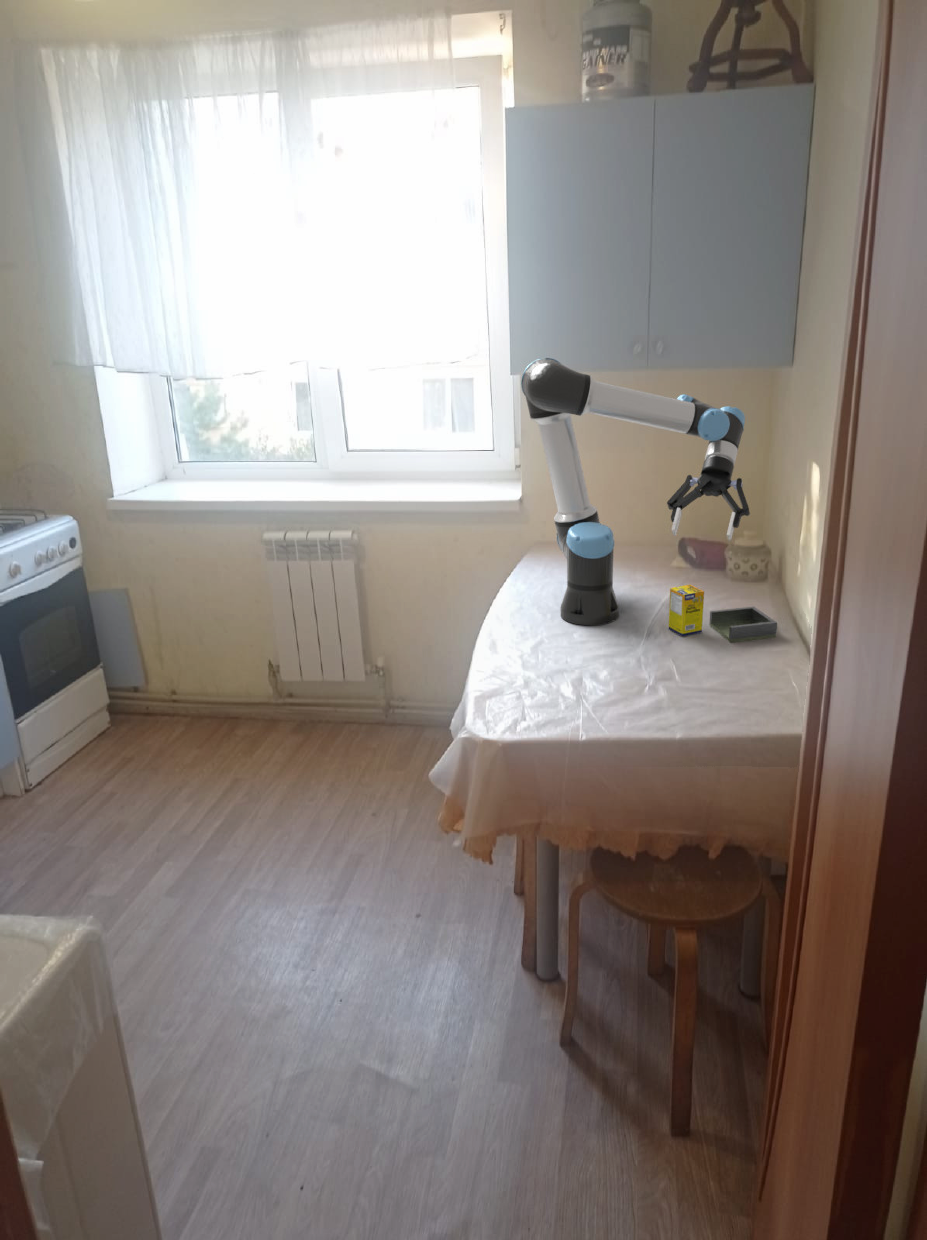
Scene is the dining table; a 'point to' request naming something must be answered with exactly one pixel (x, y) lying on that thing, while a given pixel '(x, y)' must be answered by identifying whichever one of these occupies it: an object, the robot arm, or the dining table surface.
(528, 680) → the dining table surface
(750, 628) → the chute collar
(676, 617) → the supplement box
